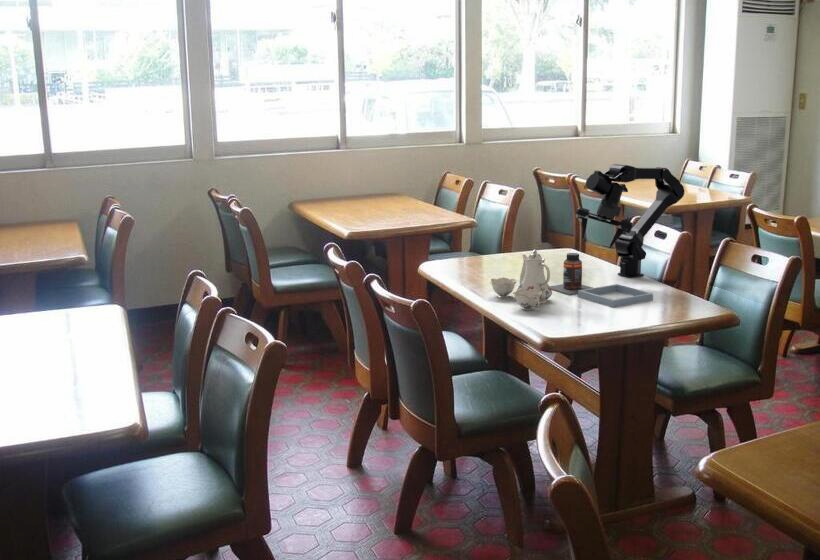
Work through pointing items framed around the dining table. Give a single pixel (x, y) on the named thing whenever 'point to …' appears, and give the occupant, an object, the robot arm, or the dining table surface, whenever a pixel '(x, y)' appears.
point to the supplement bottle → (572, 272)
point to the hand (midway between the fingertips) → (596, 244)
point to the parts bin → (635, 298)
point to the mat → (568, 291)
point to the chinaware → (527, 283)
